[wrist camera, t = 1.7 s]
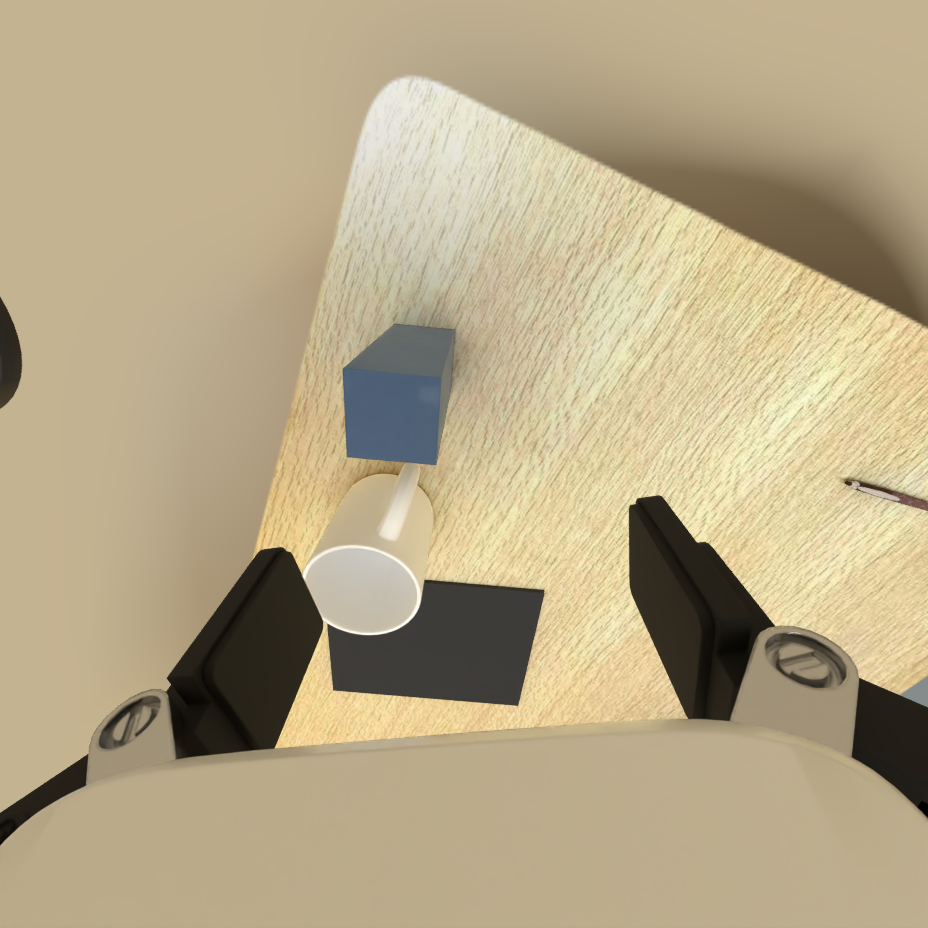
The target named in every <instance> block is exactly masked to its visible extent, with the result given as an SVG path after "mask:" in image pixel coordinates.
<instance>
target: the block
mask: <svg viewBox="0 0 928 928" xmlns="http://www.w3.org/2000/svg"><path fill="white" fill-rule="evenodd" d="M454 343H455V330H452V329H442V328H431V327H421V326H410V325H399V324H394V325H393V326H392V327H390V328H389V329H388V330H387V331H386V332H385V333H383V334H382V335H381V336H380V337H379V338H378V339H377V340H375V341H374V342H373V343H372V344H371V345H370V346H368V347H367V348H366V349H365V350H364V351H363V352H362V353H360V354H359V355H358V356H357V357H356V358H355V359H353V360H352V361H351V362H350V363H349V364H348V365H347V366H345V367H344V368H343V386H344V407H345V428H346V449H347V457H352V458H363V459H374V460H385V461H396V462H407V463H418V464H429V465H436V463H437V458H438V453H439V448H440V443H441V438H442V433H443V428H444V422H445V417H446V412H447V407H448V402H449V397H450V392H451V383H452V370H453V356H454Z"/></svg>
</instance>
